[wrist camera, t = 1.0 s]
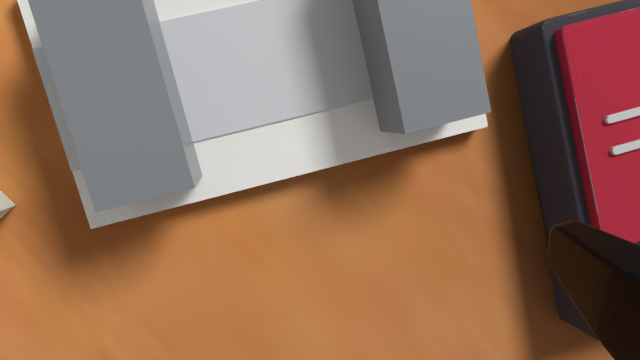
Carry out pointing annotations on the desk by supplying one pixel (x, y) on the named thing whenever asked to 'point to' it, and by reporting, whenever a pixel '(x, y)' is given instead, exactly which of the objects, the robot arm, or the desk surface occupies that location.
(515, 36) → the calculator
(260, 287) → the desk surface
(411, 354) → the desk surface
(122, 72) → the rail board
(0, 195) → the block
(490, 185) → the desk surface
